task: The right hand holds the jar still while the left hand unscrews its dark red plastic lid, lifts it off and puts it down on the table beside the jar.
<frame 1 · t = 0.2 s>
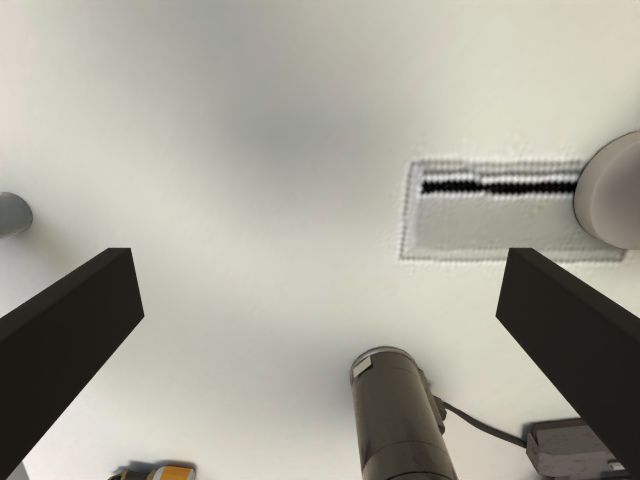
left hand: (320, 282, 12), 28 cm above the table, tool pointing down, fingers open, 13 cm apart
jar: (11, 212, 40), on the table
bust sculpture: (636, 154, 38), on the table
toy: (599, 461, 55), on the table
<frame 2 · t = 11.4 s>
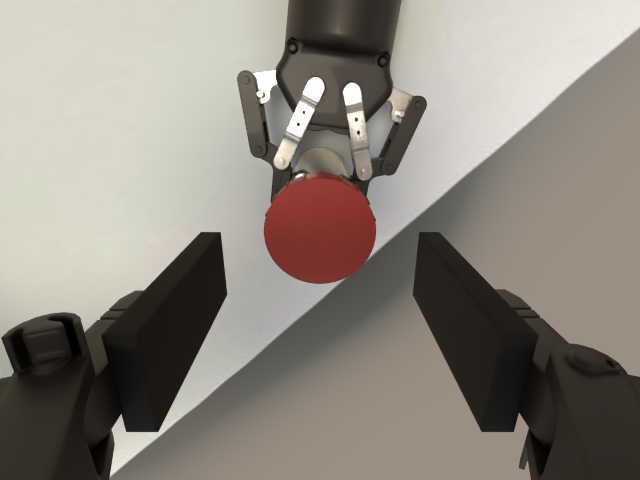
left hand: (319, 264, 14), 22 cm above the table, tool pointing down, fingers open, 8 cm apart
right hand: (316, 216, 29), fingers closed on jar, 4 cm apart
lid: (319, 231, 18), point 18 cm above the table, screwed on, not yet turned
jar: (320, 172, 34), on the table, touching right hand
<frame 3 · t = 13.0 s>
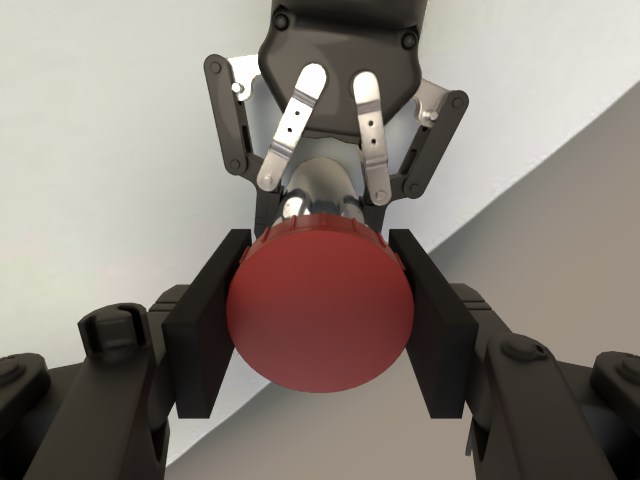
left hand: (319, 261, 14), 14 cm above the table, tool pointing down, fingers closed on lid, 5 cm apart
right hand: (315, 251, 22), fingers closed on jar, 4 cm apart
lid: (320, 313, 11), point 18 cm above the table, screwed on, not yet turned, touching left hand
jar: (320, 188, 27), on the table, touching right hand
when the left hand's fingers open (14 cm above the table, at t = 14.3 s): lid stays where it is, point 18 cm above the table.
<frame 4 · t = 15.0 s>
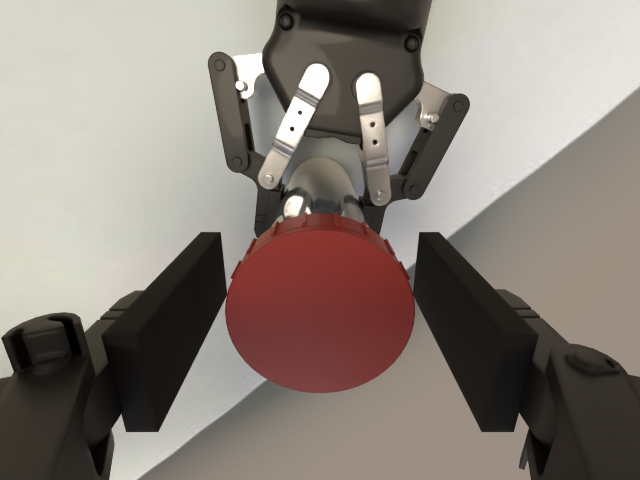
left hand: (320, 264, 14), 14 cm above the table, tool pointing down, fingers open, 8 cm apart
right hand: (314, 249, 22), fingers closed on jar, 4 cm apart
lid: (320, 312, 11), point 18 cm above the table, turned 70° so far, risen 0.2 cm, still on its thread
jar: (320, 187, 27), on the table, touching right hand
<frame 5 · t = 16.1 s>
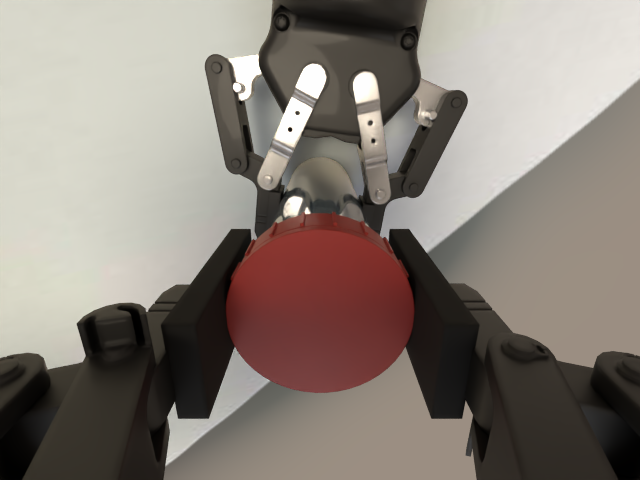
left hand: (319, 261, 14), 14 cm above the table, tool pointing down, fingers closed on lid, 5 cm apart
right hand: (315, 249, 22), fingers closed on jar, 4 cm apart
lid: (320, 312, 11), point 18 cm above the table, turned 70° so far, risen 0.2 cm, still on its thread, touching left hand
jar: (320, 187, 27), on the table, touching right hand
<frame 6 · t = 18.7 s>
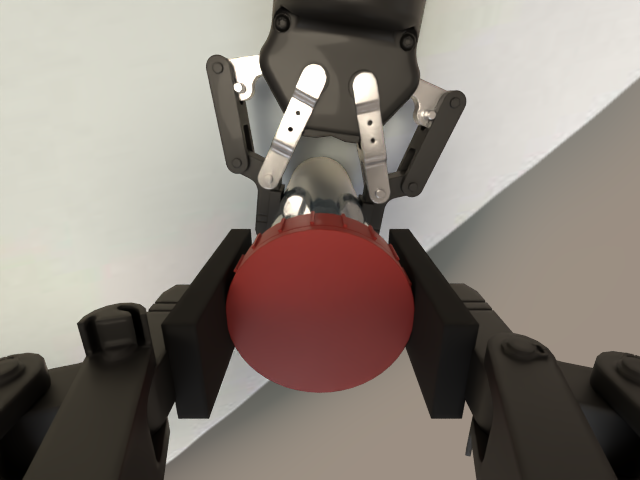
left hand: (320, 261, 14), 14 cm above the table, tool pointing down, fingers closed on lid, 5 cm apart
right hand: (315, 248, 22), fingers closed on jar, 4 cm apart
lid: (320, 312, 11), point 18 cm above the table, turned 140° so far, risen 0.4 cm, still on its thread, touching left hand
jar: (320, 187, 27), on the table, touching right hand
when the left hand's fingers open (0 cm above the table, at t = 26.6 s): lid drops 3 cm, point 1 cm above the table.
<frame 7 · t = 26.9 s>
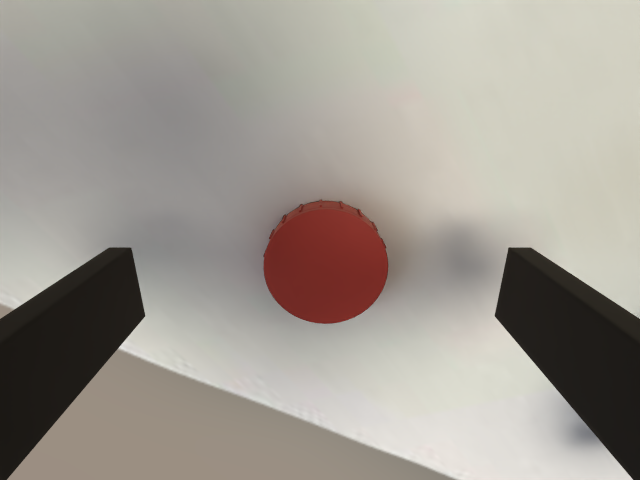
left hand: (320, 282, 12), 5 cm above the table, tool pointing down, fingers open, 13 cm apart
lid: (325, 266, 16), point 1 cm above the table, off its thread
when the right hand's fingers open (6 cm above the table, at t = 27.2 s): jar stays where it is, on the table.
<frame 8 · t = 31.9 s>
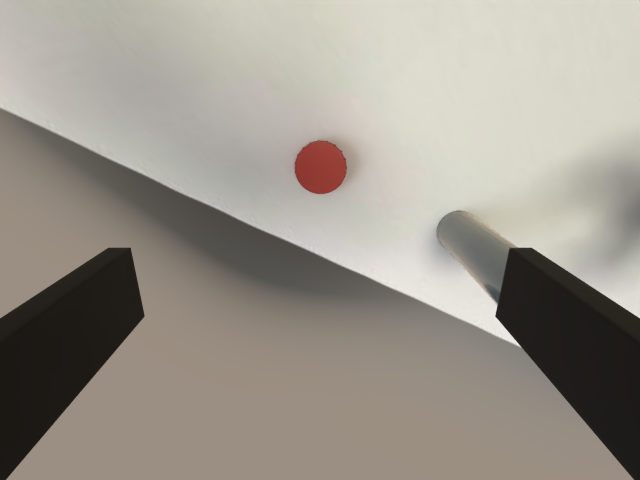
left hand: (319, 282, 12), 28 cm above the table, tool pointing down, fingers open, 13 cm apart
lid: (320, 168, 38), point 1 cm above the table, off its thread
jar: (456, 230, 42), on the table
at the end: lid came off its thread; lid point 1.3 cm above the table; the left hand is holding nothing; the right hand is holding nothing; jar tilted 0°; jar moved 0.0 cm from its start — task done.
